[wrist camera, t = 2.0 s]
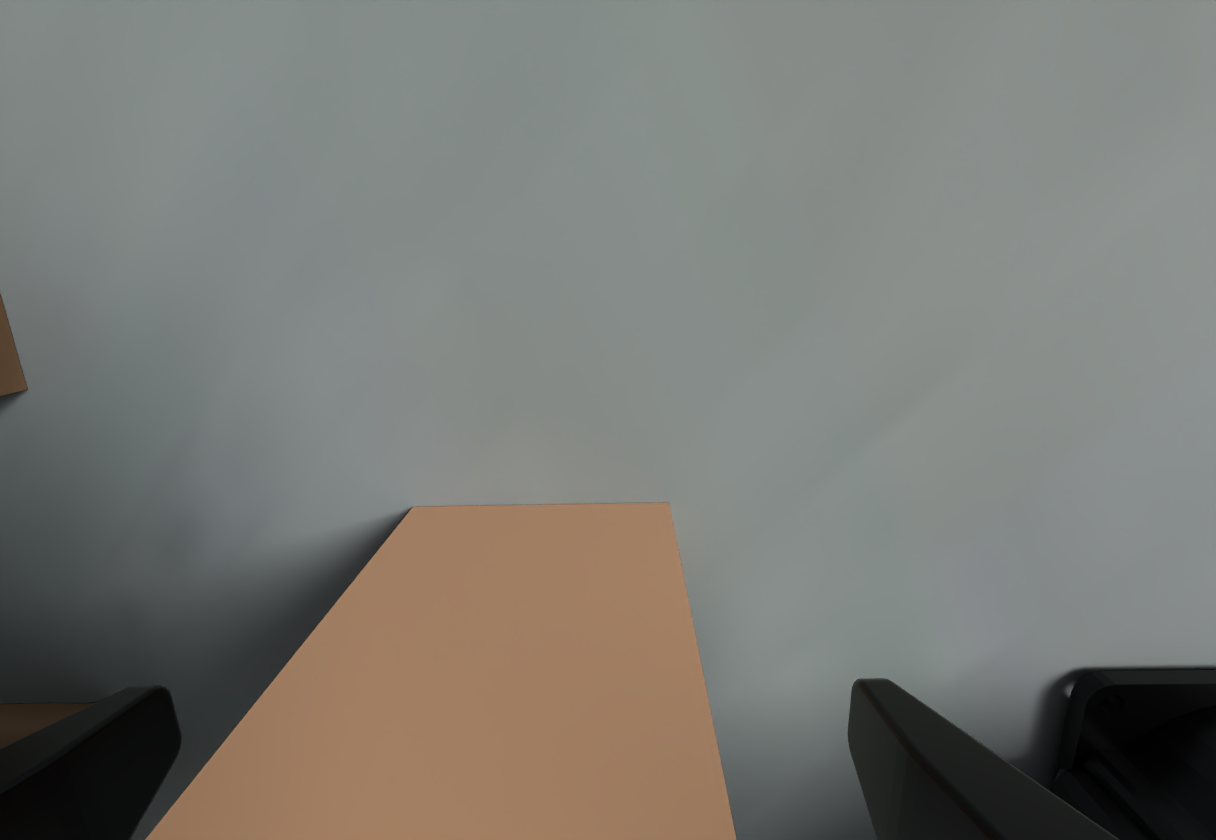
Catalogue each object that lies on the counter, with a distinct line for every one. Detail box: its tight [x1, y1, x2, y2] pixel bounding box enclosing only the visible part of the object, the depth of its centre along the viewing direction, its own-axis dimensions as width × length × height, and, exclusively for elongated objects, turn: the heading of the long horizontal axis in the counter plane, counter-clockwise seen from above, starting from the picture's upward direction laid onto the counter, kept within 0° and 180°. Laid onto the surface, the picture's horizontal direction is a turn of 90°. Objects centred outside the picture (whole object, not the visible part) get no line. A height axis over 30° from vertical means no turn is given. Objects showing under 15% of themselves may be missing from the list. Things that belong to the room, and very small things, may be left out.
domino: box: [145, 503, 736, 840], centre depth 7 cm, size 2×5×10 cm, turn 92°
